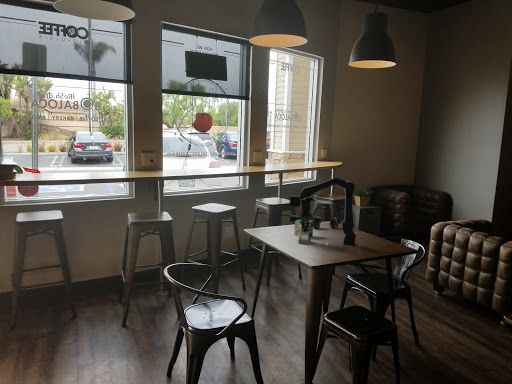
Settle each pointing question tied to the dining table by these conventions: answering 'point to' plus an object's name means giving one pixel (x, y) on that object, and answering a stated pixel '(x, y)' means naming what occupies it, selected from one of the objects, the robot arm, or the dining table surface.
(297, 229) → the chalk box
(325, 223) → the dining table surface
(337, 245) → the dining table surface
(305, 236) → the grey box
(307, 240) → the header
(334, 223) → the headphones
